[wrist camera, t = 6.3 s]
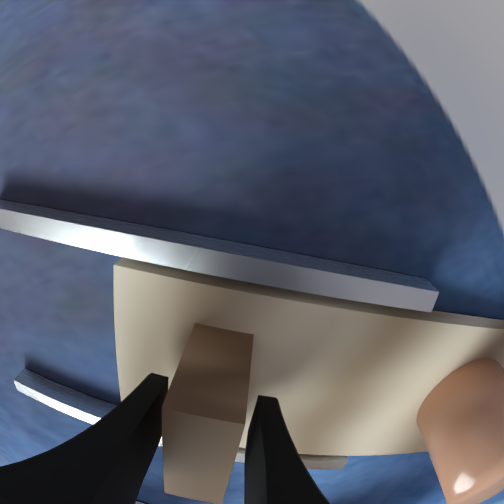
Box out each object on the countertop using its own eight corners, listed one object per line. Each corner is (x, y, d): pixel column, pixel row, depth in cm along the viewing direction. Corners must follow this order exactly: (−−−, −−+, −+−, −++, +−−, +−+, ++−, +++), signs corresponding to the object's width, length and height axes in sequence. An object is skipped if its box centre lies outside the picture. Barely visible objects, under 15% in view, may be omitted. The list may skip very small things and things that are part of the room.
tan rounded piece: (517, 358, 11) (568, 421, 6) (469, 430, 12) (502, 495, 7) (448, 357, 11) (504, 444, 6) (398, 437, 12) (425, 519, 7)
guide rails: (425, 278, 11) (439, 292, 10) (339, 452, 14) (342, 469, 13) (-2, 199, 11) (-20, 205, 9) (27, 378, 14) (17, 389, 13)
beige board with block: (530, 323, 11) (585, 377, 6) (461, 434, 14) (489, 493, 9) (125, 255, 11) (46, 324, 6) (130, 406, 13) (93, 484, 9)
